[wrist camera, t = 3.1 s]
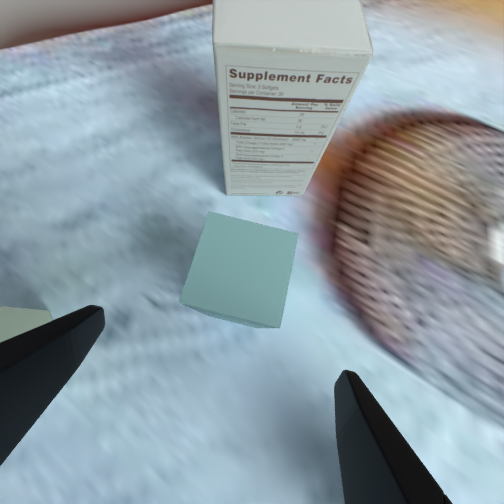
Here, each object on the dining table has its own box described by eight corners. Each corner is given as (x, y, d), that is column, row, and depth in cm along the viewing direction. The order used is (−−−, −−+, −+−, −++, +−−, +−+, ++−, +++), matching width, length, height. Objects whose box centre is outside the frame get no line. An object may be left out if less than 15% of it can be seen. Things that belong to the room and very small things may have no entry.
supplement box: (224, 132, 24) (213, -62, 12) (297, 135, 25) (356, -50, 13) (223, 198, 22) (207, 39, 10) (303, 199, 22) (381, 49, 10)
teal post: (257, 328, 19) (280, 328, 9) (207, 315, 19) (178, 302, 9) (268, 278, 20) (298, 233, 10) (221, 267, 20) (208, 211, 10)
